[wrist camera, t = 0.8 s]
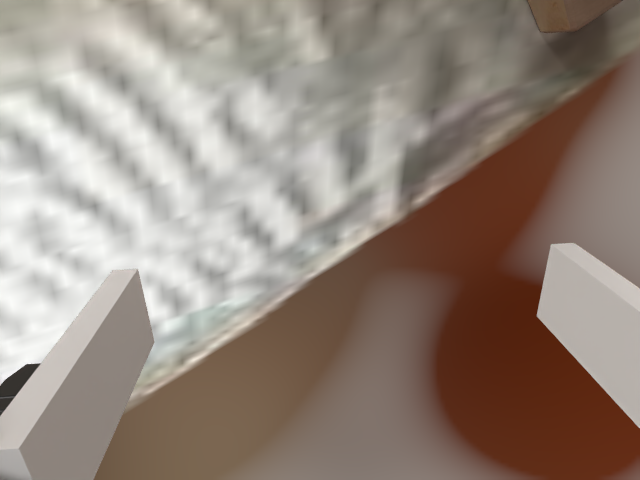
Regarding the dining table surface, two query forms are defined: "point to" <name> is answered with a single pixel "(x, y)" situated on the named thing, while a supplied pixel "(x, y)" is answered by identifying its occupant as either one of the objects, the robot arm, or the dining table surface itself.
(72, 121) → the dining table surface
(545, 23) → the decorative block
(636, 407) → the robot arm
